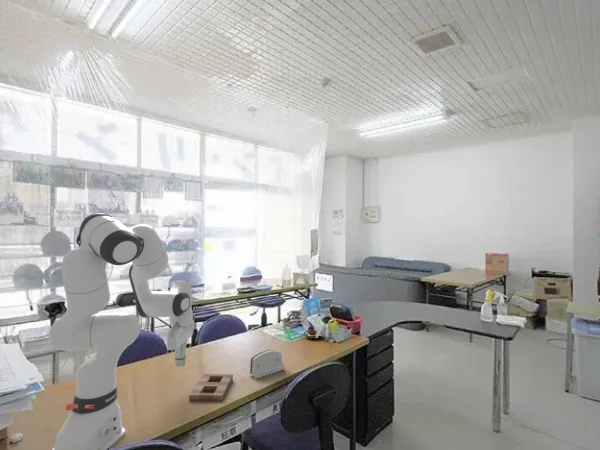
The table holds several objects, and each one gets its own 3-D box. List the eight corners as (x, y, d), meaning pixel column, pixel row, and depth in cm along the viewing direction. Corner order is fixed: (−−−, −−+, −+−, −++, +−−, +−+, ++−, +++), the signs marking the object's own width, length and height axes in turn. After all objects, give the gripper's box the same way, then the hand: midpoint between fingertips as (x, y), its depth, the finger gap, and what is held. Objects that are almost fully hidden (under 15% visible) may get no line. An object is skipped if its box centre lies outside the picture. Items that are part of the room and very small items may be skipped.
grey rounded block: (254, 379, 148) (253, 356, 149) (249, 376, 152) (247, 354, 153) (285, 369, 158) (283, 348, 159) (279, 367, 162) (278, 346, 163)
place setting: (297, 338, 203) (297, 328, 203) (302, 328, 223) (302, 319, 223) (326, 339, 201) (326, 330, 201) (328, 329, 220) (328, 320, 220)
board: (222, 401, 130) (222, 395, 130) (189, 401, 130) (189, 395, 130) (232, 380, 148) (232, 374, 148) (203, 379, 148) (203, 374, 148)
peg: (183, 366, 134) (183, 343, 135) (173, 366, 134) (173, 343, 135) (186, 362, 139) (187, 340, 139) (176, 362, 139) (177, 340, 139)
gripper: (179, 326, 127) (179, 363, 126) (196, 313, 147) (196, 345, 147) (162, 326, 127) (162, 363, 126) (182, 313, 147) (182, 345, 147)
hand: (180, 353), depth 137 cm, fingers closed on peg, 4 cm apart
